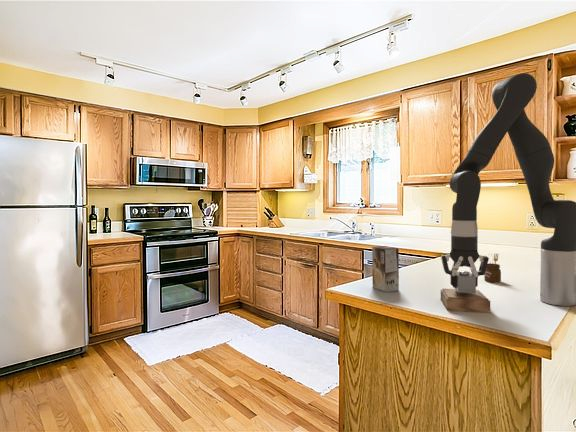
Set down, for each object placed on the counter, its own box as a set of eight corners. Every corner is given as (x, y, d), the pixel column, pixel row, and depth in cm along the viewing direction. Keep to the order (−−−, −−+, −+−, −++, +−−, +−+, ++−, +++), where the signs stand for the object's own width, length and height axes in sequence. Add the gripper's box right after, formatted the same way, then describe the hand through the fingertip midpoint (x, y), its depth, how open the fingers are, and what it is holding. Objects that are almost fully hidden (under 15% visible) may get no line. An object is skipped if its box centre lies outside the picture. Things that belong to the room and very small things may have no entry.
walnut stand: (479, 301, 118) (479, 289, 117) (490, 312, 106) (490, 299, 106) (440, 299, 121) (440, 288, 120) (446, 310, 109) (447, 297, 109)
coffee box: (399, 290, 134) (399, 248, 133) (385, 292, 131) (385, 249, 131) (385, 285, 142) (384, 245, 142) (371, 287, 140) (371, 246, 139)
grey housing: (475, 293, 109) (475, 274, 108) (458, 292, 110) (458, 273, 110) (469, 287, 116) (469, 269, 116) (452, 286, 118) (452, 269, 117)
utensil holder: (496, 279, 149) (496, 251, 149) (504, 283, 143) (504, 253, 142) (481, 279, 150) (481, 251, 149) (488, 283, 143) (488, 253, 143)
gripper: (441, 235, 111) (441, 289, 111) (492, 235, 107) (492, 291, 108) (438, 233, 118) (437, 284, 118) (485, 233, 114) (485, 286, 115)
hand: (463, 287), depth 113 cm, fingers closed on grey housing, 5 cm apart
